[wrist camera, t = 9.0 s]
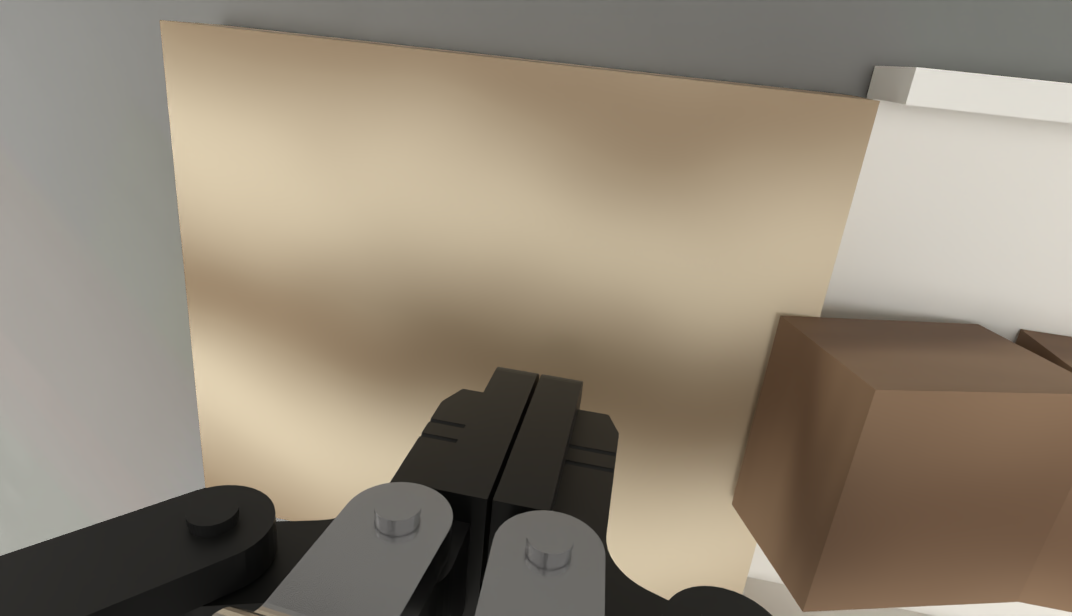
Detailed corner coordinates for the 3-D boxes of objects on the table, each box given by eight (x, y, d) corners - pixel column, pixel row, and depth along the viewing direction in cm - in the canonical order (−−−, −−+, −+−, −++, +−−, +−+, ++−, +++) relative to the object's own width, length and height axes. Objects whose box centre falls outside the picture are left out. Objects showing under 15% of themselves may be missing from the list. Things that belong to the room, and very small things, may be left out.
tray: (875, 66, 13) (916, 66, 11) (1407, 122, 12) (1574, 136, 10) (735, 579, 18) (745, 652, 16) (1105, 657, 17) (1171, 747, 15)
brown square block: (780, 315, 13) (875, 389, 10) (978, 323, 14) (1115, 394, 11) (731, 503, 15) (802, 612, 12) (910, 501, 15) (1016, 601, 13)
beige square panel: (220, 24, 15) (160, 19, 14) (851, 95, 14) (879, 101, 12) (250, 461, 20) (206, 502, 18) (728, 560, 18) (736, 617, 16)
